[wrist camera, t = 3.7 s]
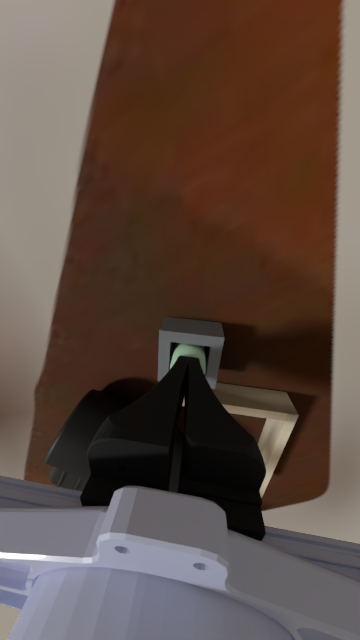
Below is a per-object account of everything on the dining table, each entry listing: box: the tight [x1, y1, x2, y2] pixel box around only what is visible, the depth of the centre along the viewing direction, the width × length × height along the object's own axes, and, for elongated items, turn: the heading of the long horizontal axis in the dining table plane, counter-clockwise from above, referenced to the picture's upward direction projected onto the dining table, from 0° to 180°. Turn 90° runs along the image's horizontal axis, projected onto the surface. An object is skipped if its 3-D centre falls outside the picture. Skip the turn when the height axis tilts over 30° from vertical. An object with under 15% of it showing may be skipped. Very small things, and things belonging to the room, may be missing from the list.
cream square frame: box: [182, 383, 299, 498], centre depth 18 cm, size 12×10×2 cm
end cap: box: [45, 389, 184, 493], centre depth 17 cm, size 10×7×7 cm
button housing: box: [158, 317, 225, 389], centre depth 15 cm, size 4×4×2 cm
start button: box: [170, 343, 206, 375], centre depth 14 cm, size 2×2×3 cm
